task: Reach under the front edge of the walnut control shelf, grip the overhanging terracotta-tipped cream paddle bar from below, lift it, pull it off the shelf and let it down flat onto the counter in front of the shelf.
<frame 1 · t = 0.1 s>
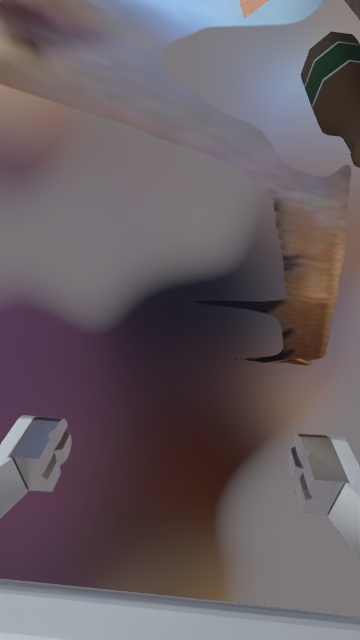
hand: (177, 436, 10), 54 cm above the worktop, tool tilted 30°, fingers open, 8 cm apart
beer bottle: (327, 63, 43), on the worktop
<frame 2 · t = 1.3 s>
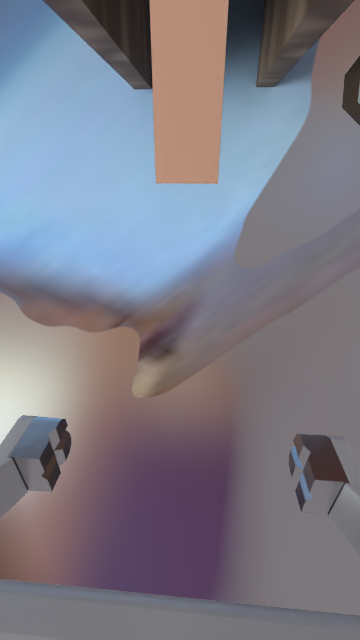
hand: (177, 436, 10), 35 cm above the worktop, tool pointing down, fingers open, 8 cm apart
control shelf: (205, 8, 30), on the worktop
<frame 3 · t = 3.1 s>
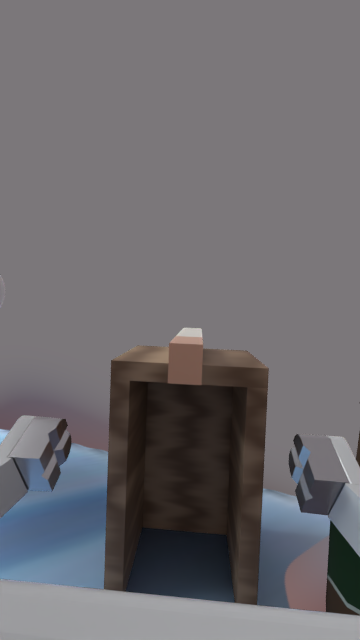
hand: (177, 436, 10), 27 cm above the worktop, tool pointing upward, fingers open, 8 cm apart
control shelf: (182, 558, 36), on the worktop
paddle bar: (189, 361, 31), point 26 cm above the worktop, touching control shelf
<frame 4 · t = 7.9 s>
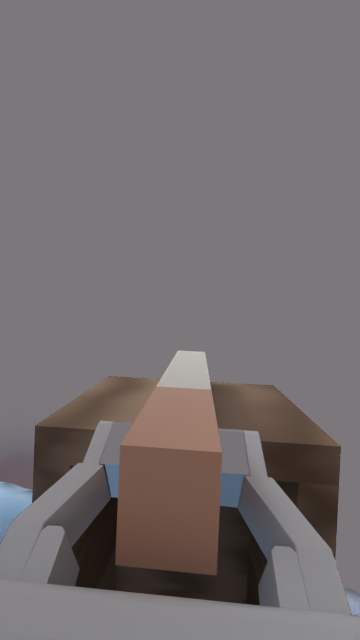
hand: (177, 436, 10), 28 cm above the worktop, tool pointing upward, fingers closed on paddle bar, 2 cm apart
paddle bar: (184, 421, 17), point 26 cm above the worktop, touching control shelf, gripper
when the fingers open (21 cm above the worktop, at t = 16.5 s): paddle bar drops 20 cm, on the worktop.
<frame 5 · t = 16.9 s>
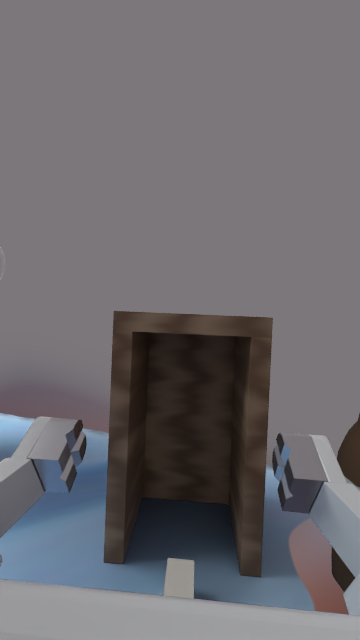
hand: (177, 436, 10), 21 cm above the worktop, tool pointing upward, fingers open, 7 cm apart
control shelf: (183, 523, 36), on the worktop
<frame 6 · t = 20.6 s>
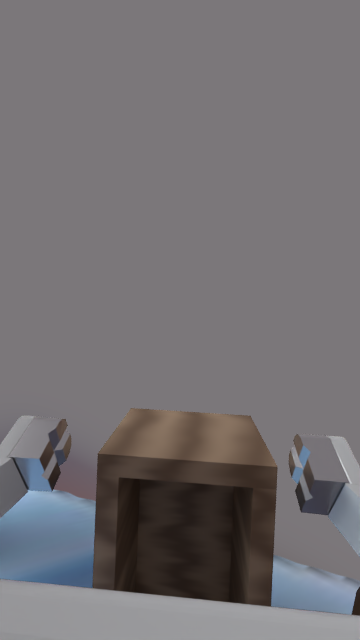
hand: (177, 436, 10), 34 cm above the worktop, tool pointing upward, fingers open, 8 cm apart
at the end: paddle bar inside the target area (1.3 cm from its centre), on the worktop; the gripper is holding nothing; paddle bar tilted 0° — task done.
